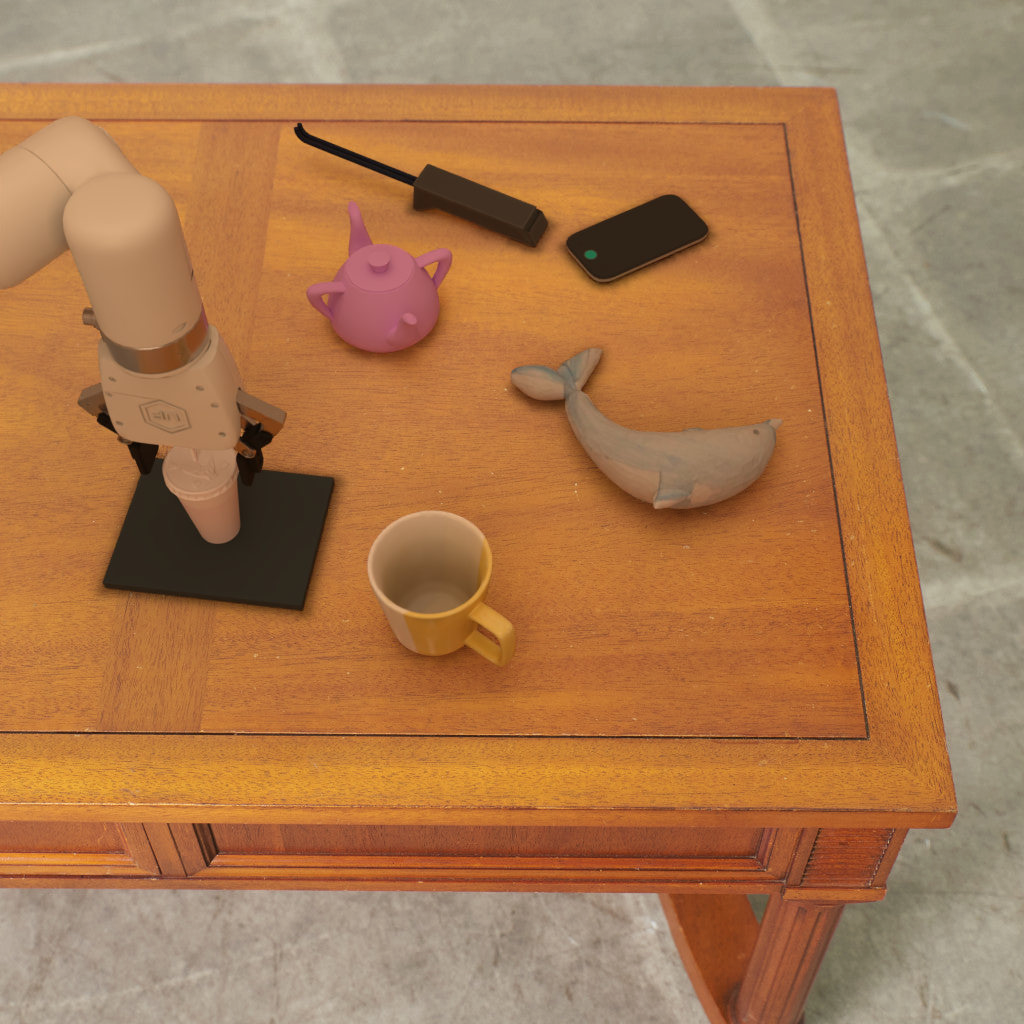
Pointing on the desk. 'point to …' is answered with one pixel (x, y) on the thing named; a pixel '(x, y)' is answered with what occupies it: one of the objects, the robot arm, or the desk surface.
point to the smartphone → (636, 238)
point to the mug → (438, 586)
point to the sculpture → (654, 443)
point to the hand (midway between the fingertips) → (200, 466)
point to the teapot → (381, 293)
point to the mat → (234, 564)
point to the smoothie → (206, 489)
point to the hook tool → (453, 195)
